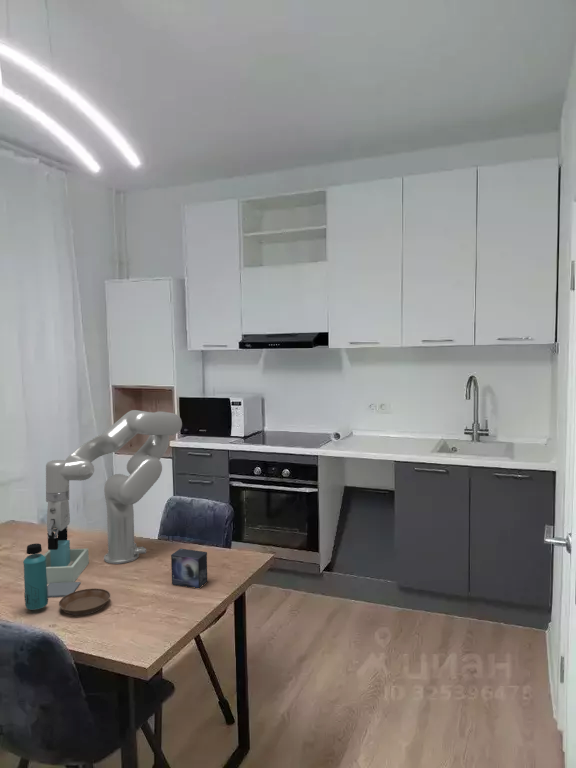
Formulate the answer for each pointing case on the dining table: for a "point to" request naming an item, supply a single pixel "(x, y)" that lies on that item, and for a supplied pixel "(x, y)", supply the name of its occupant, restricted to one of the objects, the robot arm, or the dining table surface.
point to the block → (61, 554)
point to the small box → (189, 568)
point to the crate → (67, 567)
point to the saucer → (84, 601)
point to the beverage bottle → (35, 578)
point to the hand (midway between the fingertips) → (57, 544)
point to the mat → (62, 589)
